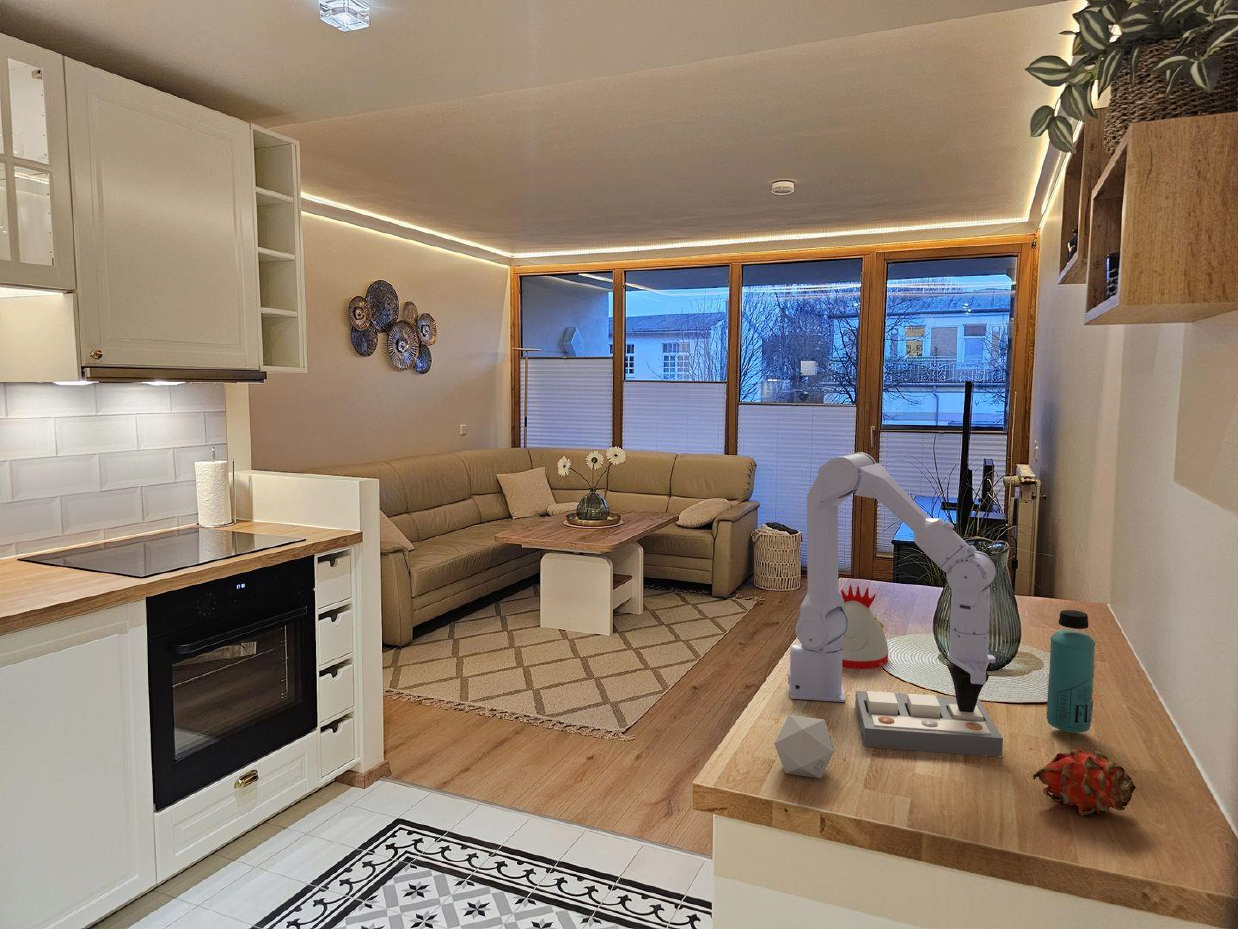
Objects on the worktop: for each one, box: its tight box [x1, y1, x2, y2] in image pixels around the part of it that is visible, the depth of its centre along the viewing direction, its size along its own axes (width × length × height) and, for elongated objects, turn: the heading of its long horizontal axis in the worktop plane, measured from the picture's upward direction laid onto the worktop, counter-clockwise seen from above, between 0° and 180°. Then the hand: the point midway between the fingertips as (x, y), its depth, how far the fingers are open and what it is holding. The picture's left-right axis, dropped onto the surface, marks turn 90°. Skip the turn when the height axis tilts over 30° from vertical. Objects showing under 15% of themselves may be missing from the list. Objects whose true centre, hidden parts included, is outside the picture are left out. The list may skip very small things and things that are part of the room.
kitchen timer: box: [840, 584, 889, 670], centre depth 165 cm, size 14×14×15 cm
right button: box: [948, 704, 983, 721], centre depth 132 cm, size 4×4×2 cm
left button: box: [866, 690, 898, 715], centre depth 134 cm, size 4×4×2 cm
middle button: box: [906, 693, 941, 718], centre depth 133 cm, size 4×4×2 cm
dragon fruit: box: [1032, 748, 1137, 817], centre depth 108 cm, size 8×8×12 cm
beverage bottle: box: [1045, 609, 1096, 734], centre depth 130 cm, size 6×7×20 cm
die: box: [774, 714, 836, 780], centre depth 119 cm, size 8×9×10 cm
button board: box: [854, 690, 1004, 757], centre depth 132 cm, size 20×15×3 cm
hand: (965, 710), depth 132 cm, fingers closed, pressing on right button
